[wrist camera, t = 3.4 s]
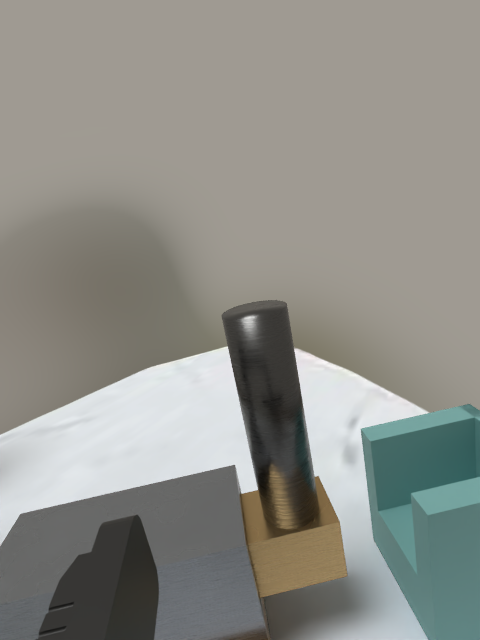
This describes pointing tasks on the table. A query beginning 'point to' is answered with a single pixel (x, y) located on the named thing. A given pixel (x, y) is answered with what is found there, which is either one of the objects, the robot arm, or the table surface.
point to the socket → (430, 514)
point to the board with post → (279, 457)
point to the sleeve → (167, 549)
